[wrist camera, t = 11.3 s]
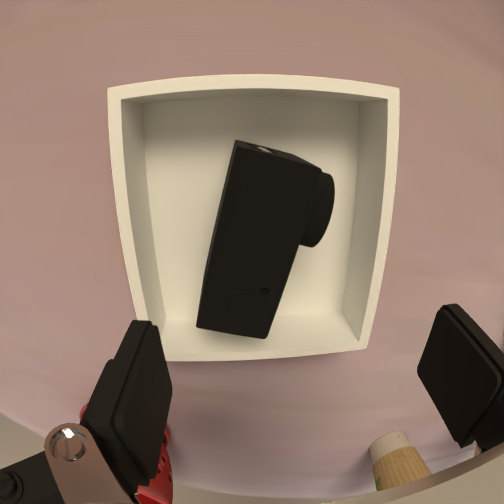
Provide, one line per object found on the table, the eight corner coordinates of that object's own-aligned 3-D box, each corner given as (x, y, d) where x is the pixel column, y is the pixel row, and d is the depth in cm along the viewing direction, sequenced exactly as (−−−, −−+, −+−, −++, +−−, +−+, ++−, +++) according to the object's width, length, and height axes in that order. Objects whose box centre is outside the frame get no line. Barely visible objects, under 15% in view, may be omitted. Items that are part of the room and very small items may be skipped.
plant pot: (85, 431, 34) (65, 498, 23) (77, 375, 29) (42, 458, 18) (172, 455, 36) (166, 526, 25) (186, 406, 31) (178, 498, 20)
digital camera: (271, 288, 25) (285, 345, 18) (203, 274, 24) (195, 330, 17) (311, 159, 21) (346, 175, 14) (235, 138, 20) (236, 145, 14)
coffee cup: (349, 461, 40) (371, 535, 26) (372, 429, 36) (404, 514, 23) (398, 452, 41) (424, 517, 28) (424, 419, 37) (460, 491, 24)
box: (363, 93, 20) (399, 88, 15) (345, 310, 27) (366, 348, 22) (135, 95, 19) (107, 88, 14) (160, 318, 26) (148, 360, 21)
